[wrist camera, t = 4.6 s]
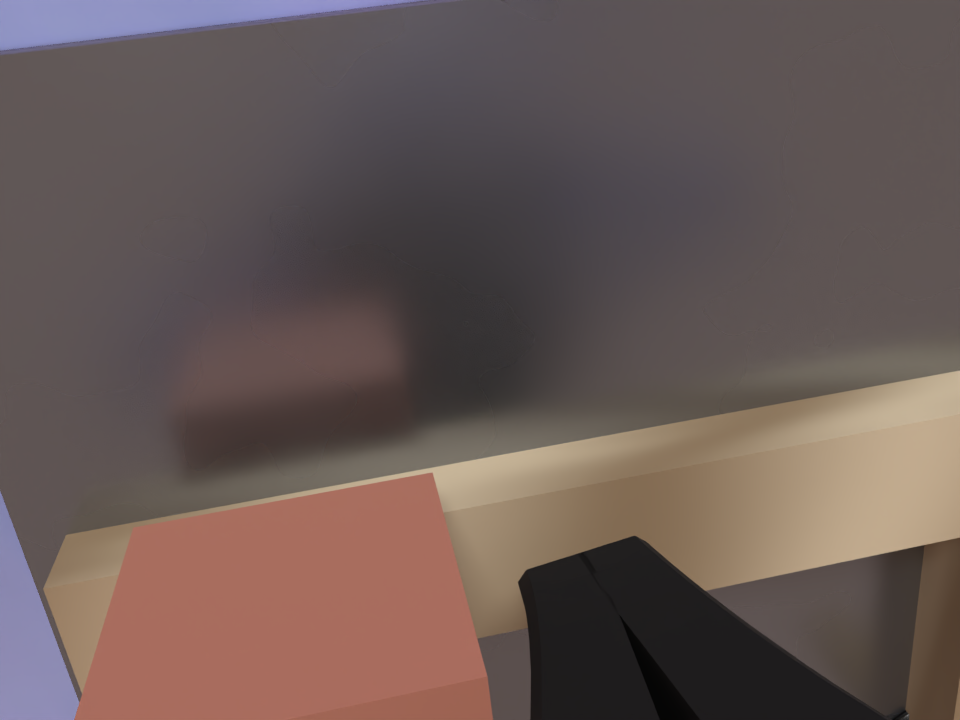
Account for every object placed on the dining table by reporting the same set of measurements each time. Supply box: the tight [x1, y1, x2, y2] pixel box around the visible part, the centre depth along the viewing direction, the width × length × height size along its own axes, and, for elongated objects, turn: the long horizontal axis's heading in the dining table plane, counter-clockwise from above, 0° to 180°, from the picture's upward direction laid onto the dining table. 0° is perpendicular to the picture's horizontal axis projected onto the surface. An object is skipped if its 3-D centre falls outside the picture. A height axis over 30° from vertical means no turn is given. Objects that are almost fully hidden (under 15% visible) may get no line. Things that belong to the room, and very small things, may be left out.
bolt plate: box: [0, 0, 960, 720], centre depth 12 cm, size 15×14×1 cm
